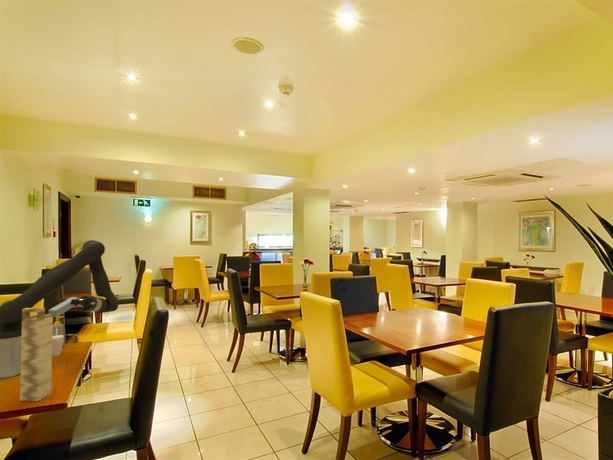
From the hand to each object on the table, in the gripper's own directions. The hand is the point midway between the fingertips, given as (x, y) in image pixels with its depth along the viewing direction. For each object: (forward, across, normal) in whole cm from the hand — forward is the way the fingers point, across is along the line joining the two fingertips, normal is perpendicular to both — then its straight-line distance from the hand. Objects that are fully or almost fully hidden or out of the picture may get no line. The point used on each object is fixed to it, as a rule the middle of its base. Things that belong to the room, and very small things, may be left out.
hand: (67, 301), depth 149 cm
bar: (+1, 0, +4) cm, 4 cm away
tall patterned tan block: (+9, +1, +37) cm, 38 cm away
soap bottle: (-51, -32, +24) cm, 65 cm away
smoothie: (-40, -24, +26) cm, 54 cm away
